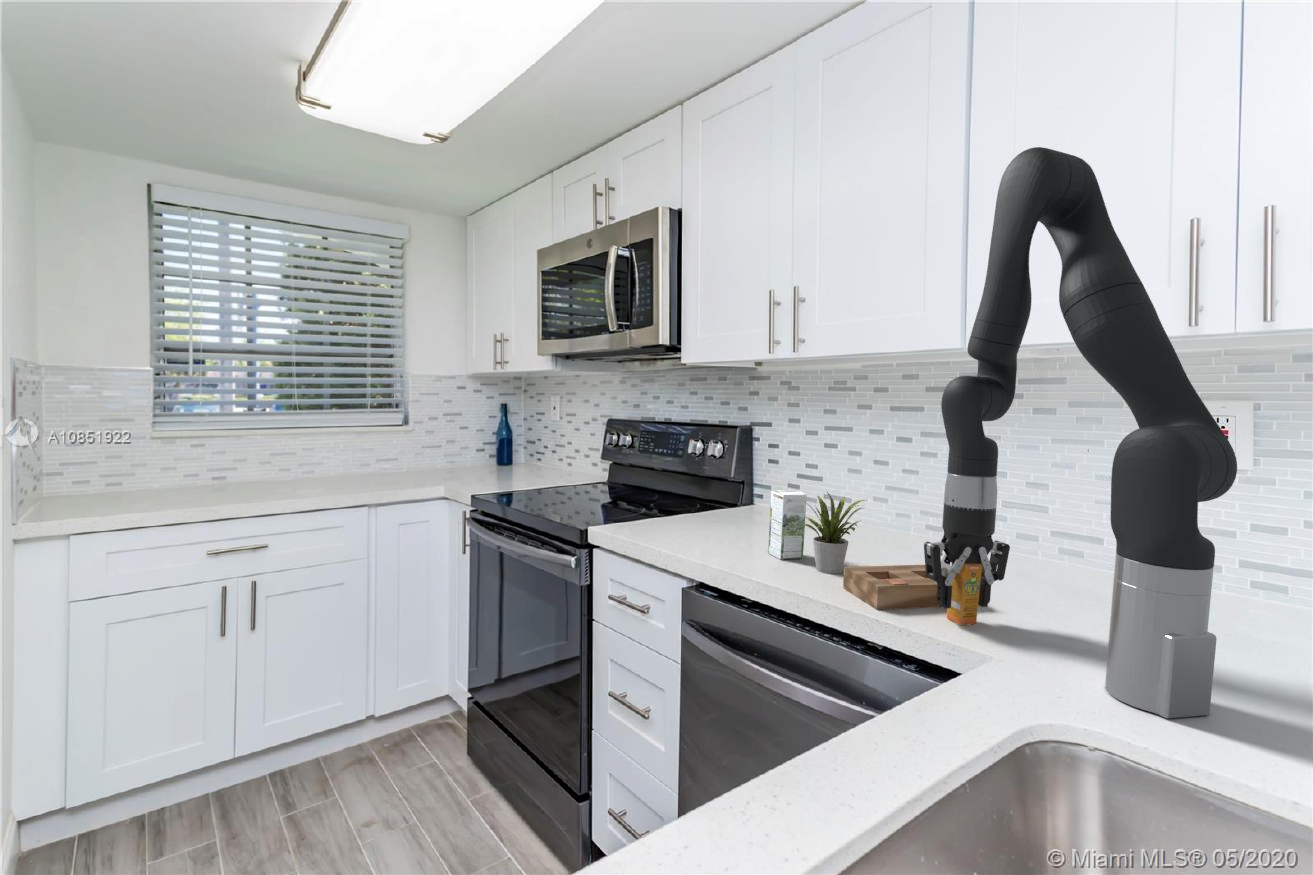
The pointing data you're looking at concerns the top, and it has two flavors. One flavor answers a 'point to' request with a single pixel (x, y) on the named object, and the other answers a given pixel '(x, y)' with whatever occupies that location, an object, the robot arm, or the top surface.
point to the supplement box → (965, 595)
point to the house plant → (831, 536)
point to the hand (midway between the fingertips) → (963, 605)
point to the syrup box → (787, 524)
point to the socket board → (892, 586)
